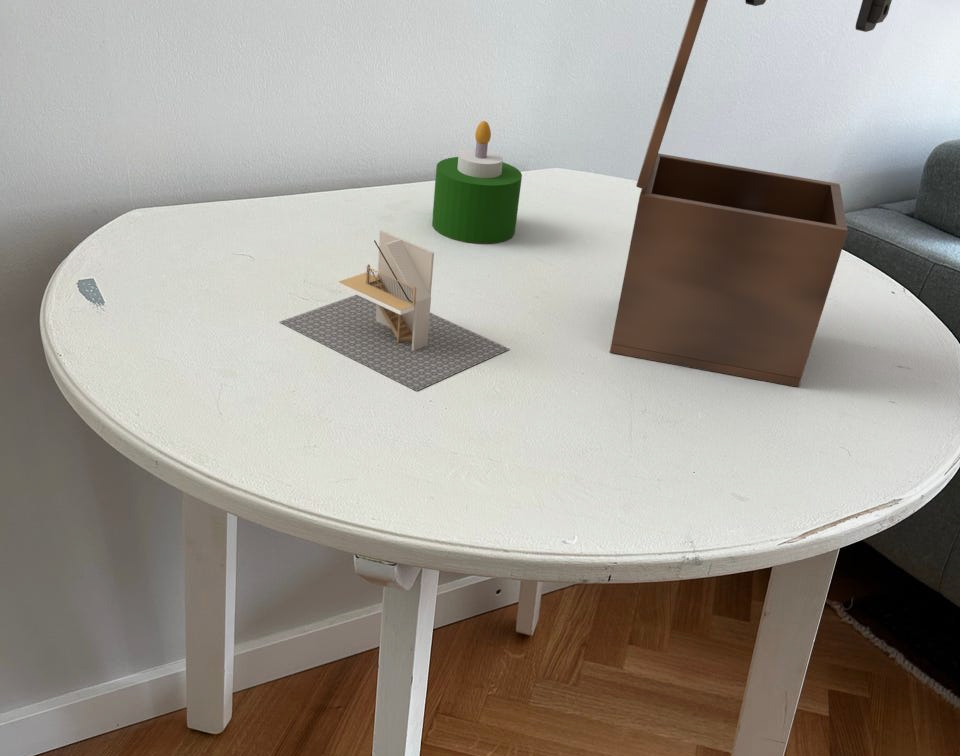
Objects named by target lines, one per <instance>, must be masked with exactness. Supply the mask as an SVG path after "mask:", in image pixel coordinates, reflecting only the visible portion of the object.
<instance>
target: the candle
mask: <svg viewBox="0 0 960 756" xmlns="http://www.w3.org/2000/svg"><path fill="white" fill-rule="evenodd" d="M474 134H475V135H474V138H475V141H476V144H475V149H464V150H461V151H459V152H458V156H455V157H447V158H444V159H441V160H440V161H438V162H437V164H436V166H435V167H436V168H435V179H434V180H435V181H434V193H433V207H432V208H433V209H432V218H431V219H432V221H431V225H432V228H433V229H434V230H435V231H436V232H437V233H439V234H440V235H442V236H443V237H447V238H449V239H451V240H456V241H459V242H463V243H464V242H465V243H472V244H497V243H502V242H505V241H509V240H510V239H512V238H513V237H515V234H516V228H517V227H516V226H517V219H518V211H519V203H520V196H521V194H520V193H521V187H522V179H523V174H522V172H521V171H520V170H519V169H518V168H516V167H515V166H513V165H511V164H510V163H507V162H504V158H503V157H502V156H501V155H500V154H499V153H496V152H494V151H489V150H488V147H489V142H490V141H491V137H492V132H491V127H490V124H489V122H487V121H486V120H482V121H481V122H480V123H478V124H477V127H476V129H475V133H474Z"/></svg>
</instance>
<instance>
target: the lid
mask: <svg viewBox="0 0 960 756" xmlns="http://www.w3.org/2000/svg"><path fill="white" fill-rule="evenodd" d="M708 1H709V0H694V1H693V3H692V7H691V10H690V12H689V15H688V19H687V22H686V25H685V29H684V32H683V34H682V38H681V41H680V43H679V47H678V50H677V53H676V56H675V60H674V63H673V66H672V69H671V72H670V75H669V79H668V81H667V84H666V88H665V91H664V94H663V97H662V100H661V104H660V106H659V110H658V113H657V115H656V116H657V117H656V119H655V123H654V126H653V129H652V132H651V134H650V138H649V142H648V145H647V147H646V151H645V155H644V157H643V162H642V165H641V168H640V172H639V174H638V178H637V181H636V186H635V187H636V188H639V189H645V190H646V189H647V186H648V183H649V180H650V177H651V174H652V170H653V167H654V164H655V161H656V158H657V155H658V153H659V152H660V149H661V146H662V143H663V141H664V136H665V133H666V132H667V131H666V130H667V128H668V124H669V121H670V118H671V115H672V112H673V109H674V105H675V103H676V100H677V97H678V95H679V91H680V88H681V84H682V81H683V78H684V76H685V72H686V69H687V67H688V64H689V63H688V62H689V60H690V57H691V53H692V51H693V48H694V44H695V42H696V38H697V35H698V33H699V30H700V26H701V23H702V20H703V17H704V13H705V10H706V8H707V5H708Z"/></svg>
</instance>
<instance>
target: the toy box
mask: <svg viewBox="0 0 960 756" xmlns="http://www.w3.org/2000/svg"><path fill="white" fill-rule="evenodd" d="M640 189H641V190H640V193H639V197H638V202H637V208H636V213H635V218H634V223H633V229H632V234H631V238H630V243H629V249H628V254H627V260H626V265H625V270H624V275H623V281H622V286H621V290H620V295H619V301H618V307H617V311H616V312H617V313H616V316H615V323H614V328H613V333H612V338H611V342H610V343H611V344H610V348H609V353H611V354H616V355H623V356H627V357H632V358H639V359H643V360H648V361H649V360H650V361H655V362H661V363H665V364H670V365H675V366H682V367H687V368H692V369H697V370H702V371H707V372H708V371H709V372H714V373H719V374H724V375H725V374H726V375H729V376H736V377H740V378H745V379H746V378H747V379H752V380H757V381H763V382H769V383H773V384H777V385H778V384H779V385H784V386H791V387H795V388H799V387H800V384H801V381H802V378H803V374H804V372H805V369H806V365H807V362H808V359H809V356H810V353H811V350H812V346H813V343H814V341H815V336H816V333H817V331H818V327H819V323H820V321H821V318H822V315H823V311H824V308H825V305H826V302H827V298H828V295H829V292H830V289H831V285H832V284H833V279H834V276H835V273H836V270H837V266H838V264H839V261H840V257H841V254H842V251H843V247H844V244H845V241H846V239H847V235H848V232H849V231H848V224H847V218H846V212H845V208H844V207H845V206H844V200H843V196H842V190H841V184H840V183H837V182H832V181H825V180H819V179H815V178H808V177H801V176H795V175H789V174H784V173H776V172H772V171H765V170H761V169H760V170H759V169H753V168H748V167H741V166H735V165H730V164H723V163H718V162H712V161H706V160H700V159H694V158H688V157H683V156H678V155H677V156H676V155H670V154H664V153H659V152H658V155H657V158H656V161H655V164H654V167H653V170H652V174H651V177H650V180H649V183H648V186H647V189H646V190H645V189H642V188H640Z"/></svg>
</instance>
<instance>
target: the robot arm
mask: <svg viewBox="0 0 960 756" xmlns="http://www.w3.org/2000/svg"><path fill="white" fill-rule="evenodd" d="M892 1H893V0H862V1H861V4H860V7H859V12H858V15H857V19H856V22H855V30H856V31H860V32H863V33H867V32H868V33H869V32H870V31H873V30H874V29H875V28H876V26H877V24H880V23H883V22H884V21H885V19H886V18H887V17H888V15H889V12H890V8H891V4H892ZM744 2H745V4H746V5H749V6H752V7H757V6H763V5H765V3H766V2H767V0H744Z"/></svg>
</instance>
